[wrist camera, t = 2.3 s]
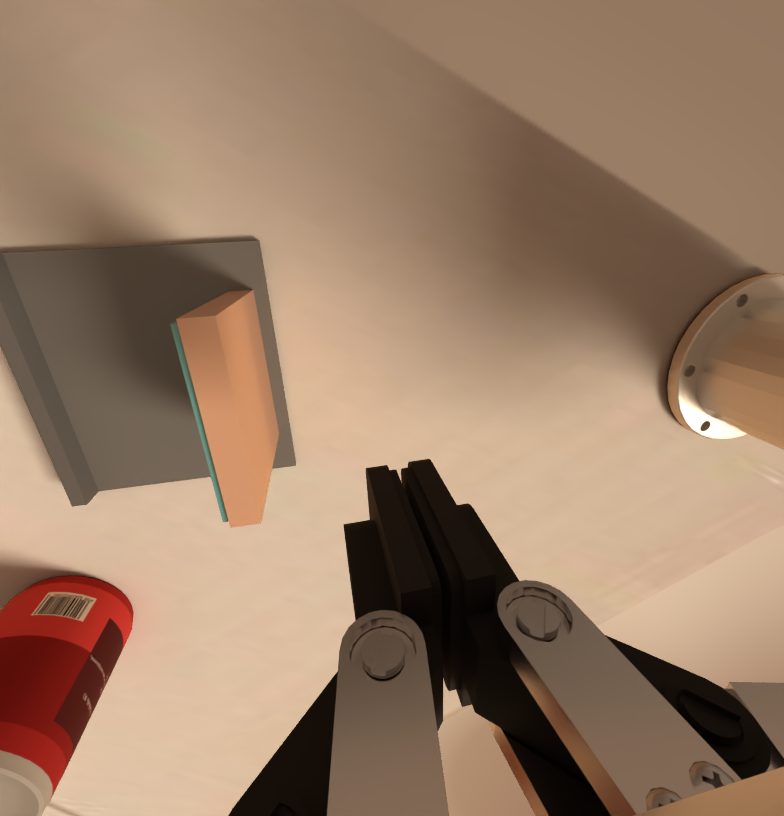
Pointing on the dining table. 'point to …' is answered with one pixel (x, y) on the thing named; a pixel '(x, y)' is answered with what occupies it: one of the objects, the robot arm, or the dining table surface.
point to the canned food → (53, 680)
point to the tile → (231, 400)
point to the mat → (122, 356)
